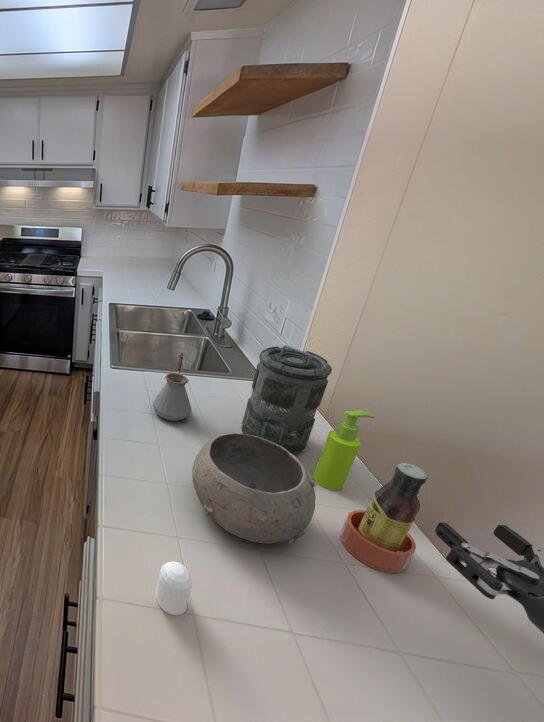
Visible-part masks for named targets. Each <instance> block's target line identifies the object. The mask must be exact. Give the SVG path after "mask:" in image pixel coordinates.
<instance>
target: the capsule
mask: <svg viewBox="0 0 544 722" xmlns="http://www.w3.org/2000/svg"><path fill="white" fill-rule="evenodd" d="M156 584H157V585H156V590H155V594H154V595H155V600H156V603H157V605H158V606H159V607H160V608H161V610H163V611H164V612H165V613H167V614H169V615H171V616H180V615H183V614H184V613H185V612H186V611H187V609H188V604H189V600H190V596H191V591H192V587H193V579H192V575H191V573H190V571H189V570H188V569H187V567H186V566H185V565H184V564H182V563H181V562H178V561H173V560H172V561H168V562H165V563H164V564H163V565H162V566H161V568H160V570H159V574H158V579H157V583H156Z"/></svg>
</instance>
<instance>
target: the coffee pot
mask: <svg viewBox="0 0 544 722" xmlns="http://www.w3.org/2000/svg"><path fill="white" fill-rule="evenodd" d="M178 355H179V356H178V358H179V360H178V361H177V367H176V372H170V373H167V374H166V375H165V376H164V379H165V380H166V382H165V384H164V386H163V387H162V388H161V390H159V392H158V394H157V395H156V397H155V398H154V399H153V401H152V407H153V410H154V411H155V412H156V413H157V414H158V416H159V417H160V418H162V419H164V420H165V421H166V420H167V421H171V422H178V421H181V420H184V419H186V418H188V417H190V415H191V413H192V405H191V401H190V399H189V396H188V392H187V389H186V385H187V384H188V383H189V381H190V380H189V378H188V377H187V376H185V375H183V374H180V371H181V369H182V365H183V359H184V357H186V354H185V353H184V352H180V353H178Z"/></svg>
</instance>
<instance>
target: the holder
mask: <svg viewBox="0 0 544 722" xmlns="http://www.w3.org/2000/svg"><path fill="white" fill-rule="evenodd" d="M365 512H366V509H356V510H352V511H350V512H349V513H348V515H347V517H346V518H345V521H344V523H343V525H342V527H341V530H340V533H339V538H340V542H341V543H342V545H343V547H344V548H345V550H347V552H348V553H349V554H350V555H352V556H353V557H354V558H355V559H356V560H358V561H359V562H361V563H362V564H364V565H366V566H367V567H369V568H372V569H374V570H377V571H379V572H383V573H387V574H399V573H403V571H404V570H406V568H407V567H408V565H409V563H410V561H411V559H412V558H413V556H414V554H415V552H416V549H417V544H416V542H415V539H414V538H413V536H411V534H410V533H409V532H408V533H407V535H406V537H405V538H404V540H403V542H402V544H401V545H400V547H399V549H398V551H397V552H394V551H389V550H387V549H384V548H381V547H379V546H377V545H375V544H373V543H371V542H370V541H368V540H367V539H365V538H364V537H363V536H361V535H360V534H359V533H358V531H357V529H358V527H359V525H360V523H361V521H362V519H363V517H364V514H365Z"/></svg>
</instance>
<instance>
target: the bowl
mask: <svg viewBox="0 0 544 722" xmlns="http://www.w3.org/2000/svg"><path fill="white" fill-rule="evenodd" d="M191 473H192V485H193V488H194V491H195V494H196V497H197V498H198V500H199V502H200V504H201V506H202V508H203V512H204V514H205V515H208V516H209V517H210V518H211V519H212V520H213V521H214V522H215V523H216V524H218V525H219V526H220V527H221V528H222V529H224V530H225V531H226V532H228V533H230V534H232V535H234V536H236V537H238V538H241V539H243V540H247V541H249V542H253V543H260V544H276V543H277V544H278V543H282V542H287V543H288V544H295V543H296V542H297V541H298V540H299V539H301V538H303V537H304V536H305V534H306V531H305V530H306V529H307V527H308V525H309V524H310V523H311V521H312V519H313V517H314V513H315V510H316V491H315V488H316V484H315V483H316V482H315V480H314V478H311V476H310V474H309V472H308V470H307V469H306V467H305V466H304V464H303V463H302V462H301V461H300V459H298V458H297V457H296V455H293V454H291V453H290V452H289V451H288V450H286V449H285V448H283V447H282V446H280V445H277V444H275V443H273V442H271V441H269V440H266V439H263V438H260V437H257V436H253V435H249V434H243V433H240V432H228V433H226V432H225V433H222V434H218V435H216V436H213V437H211V438H210V439H208V440H207V441H206V442H205V443H204V444H203V445H202V446H201V448H200V449H199V451H198V453H197V454H196V456H195V458H194V461H193V464H192V470H191Z"/></svg>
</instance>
